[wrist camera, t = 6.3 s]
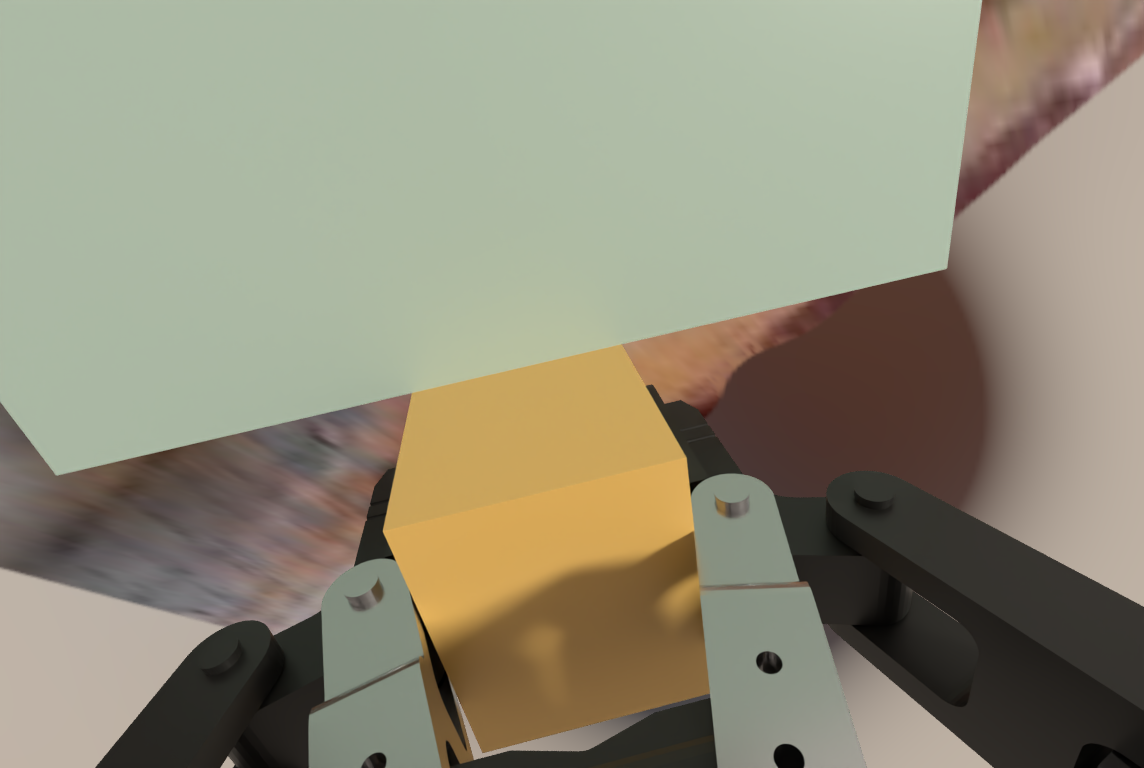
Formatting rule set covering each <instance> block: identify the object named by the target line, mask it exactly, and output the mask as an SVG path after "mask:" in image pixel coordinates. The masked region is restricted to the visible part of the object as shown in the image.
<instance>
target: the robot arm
mask: <svg viewBox="0 0 1144 768" xmlns="http://www.w3.org/2000/svg"><path fill="white" fill-rule="evenodd" d="M646 388H647V390H648V391H649V393H650V395H651V397H652V398H653V400H654V402H655V403H656V405H657V407H658V409H659V410H660V412H661V414H662V416H663V417H664V419H665V421H666V423H667V424H668V426H669V428H670V430H671V431H672V433H673V435H674V437H675V438H676V440H677V442H678V444H679V445H680V447H681V449H682V450H683V452H684V454H685V456H686V457H687V467H688V476H689V485H690V494H691V503H692V513H693V522H694V539H695V548H696V558H697V568H698V578H699V589H700V599H701V609H702V619H703V629H704V639H705V648H706V658H707V668H708V678H709V688H710V697H711V698H708V699H705V700H701V701H697V702H693V703H689V704H686V705H682V706H678V707H674V708H670V709H667V710H663V711H659V712H655V713H653V714H651V715H650V716H648V717H646V718H644V719H643V720H641V721H639V722H637V723H636V724H634V725H632V726H630V727H629V728H627V729H625V730H623V731H622V732H620V733H618V734H617V735H615V736H613V737H611V738H609V739H608V740H606V741H604V742H602V743H601V744H599V745H597V746H595V747H594V748H591V749H589V750H586V751H579V752H577V751H573V752H572V751H507V752H503V753H500V754H496V755H492V756H489V757H484V758H481V759H477V760H474V759H473V755H472V751H471V748H470V744H469V740H468V737H467V733H466V729H465V725H464V722H463V718H462V714H461V711H460V707H459V703H458V699H457V696H456V693H455V690H454V688H453V686H452V684H451V682H450V679H449V677H448V675H447V673H446V671H445V668H444V666H443V664H442V662H441V659H440V657H439V655H438V653H437V651H436V648H435V646H434V644H433V642H432V639H431V637H430V635H429V633H428V631H427V628H426V626H425V624H424V622H423V620H422V617H421V615H420V613H419V611H418V608H417V606H416V604H415V602H414V600H413V597H412V595H411V593H410V591H409V588H408V586H407V584H406V582H405V580H404V577H403V575H402V573H401V571H400V569H399V566H398V564H397V562H396V560H395V557H394V555H393V553H392V551H391V549H390V546H389V544H388V542H387V540H386V537H385V535H384V533H383V528H384V523H385V518H386V514H387V509H388V504H389V499H390V495H391V490H392V485H393V481H394V476H395V471H396V468H392V469H388V470H387V471H386V473H385V474H384V475H383V477H382V478H381V479H380V480H379V482H378V483H377V484H376V485H375V487H374V491H373V495H372V499H371V503H370V504H371V507H369V510H368V514H367V521H366V522H365V526H364V530H363V534H362V538H361V541H360V545H359V549H358V553H357V557H356V561H355V565H354V567H353V568H351V569H349V570H348V571H346V572H345V573H344V574H342V575H341V576H340V577H339V578H338V579H336V580H335V581H334V583H333V584H332V585H331V586H330V587H329V589H328V590H327V592H326V594H325V596H324V598H323V601H322V607H321V611H320V612H319V613H317V614H315V615H314V616H312V617H310V618H308V619H306V620H304V621H302V622H300V623H298V624H296V625H294V626H292V627H290V628H288V629H286V630H284V631H282V632H280V633H278V634H276V635H274V636H273V635H272V633H271V632H270V630H269V628H268V627H267V626H266V625H265V624H264V623H262V622H259V621H253V620H251V621H242V622H238V623H235V624H232V625H229V626H227V627H225V628H223V629H221V630H219V631H217V632H215V633H214V634H212V635H211V636H209V637H208V638H206V639H205V640H204V641H203V642H201V643H200V644H199V645H198V646H197V647H196V648H195V649H194V650H193V651H192V652H191V653H190V654H189V655H188V656H187V657H186V658H185V660H184V661H183V662H182V663H181V665H180V666H179V667H178V668H177V669H176V671H175V672H174V673H173V674H172V675H171V677H170V678H169V679H168V680H167V681H166V683H165V684H164V685H163V686H162V687H161V689H160V690H159V691H158V692H157V694H156V695H155V696H154V697H153V698H152V700H151V701H150V702H149V703H148V704H147V706H146V707H145V708H144V709H143V710H142V712H141V713H140V714H139V715H138V717H137V718H136V719H135V720H134V721H133V723H132V724H131V725H130V726H129V727H128V729H127V730H126V731H125V732H124V734H123V735H122V736H121V737H120V738H119V740H118V741H117V742H116V743H115V744H114V746H113V747H112V748H111V749H110V750H109V752H108V753H107V754H106V755H105V756H104V758H103V759H102V760H101V761H100V763H99V764H98V765H97V766H96V768H220V767H221V766H222V764H223V763H224V761H225V760H226V758H227V756H228V757H230V759H231V760H232V761H233V762H234V764H235V766H234V767H233V768H867V766H866V763H865V760H864V757H863V754H862V750H861V747H860V744H859V741H858V738H857V735H856V731H855V728H854V725H853V722H852V718H851V715H850V712H849V709H848V706H847V702H846V699H845V696H844V693H843V690H842V687H841V683H840V680H839V677H838V673H837V670H836V667H835V664H834V661H833V657H832V654H831V651H830V648H829V645H828V642H827V639H826V636H825V632H824V629H823V625H822V624H828V625H829V626H830V627H831V629H832V630H833V631H834V632H835V633H836V634H838V635H839V636H840V637H841V638H842V639H843V640H845V641H846V642H847V643H848V644H849V645H850V646H852V647H853V648H854V649H855V650H857V651H858V652H859V653H860V654H861V655H862V656H863V657H865V658H866V659H867V660H868V661H869V662H870V663H872V664H873V665H874V666H875V667H876V668H877V669H879V670H880V671H881V672H882V673H883V674H885V675H886V676H887V677H888V678H889V679H890V680H892V681H893V682H894V683H895V684H896V685H898V686H899V687H900V688H901V689H902V690H903V691H905V692H906V693H907V694H908V695H909V696H910V697H911V698H913V699H914V700H915V701H916V702H917V703H919V704H920V705H921V706H922V707H923V708H925V709H926V710H927V711H928V712H929V713H930V714H931V715H933V716H934V717H935V718H936V719H937V720H939V721H940V722H941V723H942V724H943V725H944V726H946V727H947V728H948V729H949V730H950V731H951V732H953V733H954V734H955V735H956V736H957V737H958V738H960V739H961V740H962V741H963V742H964V743H965V744H967V745H968V746H969V747H970V748H971V749H973V750H974V751H975V752H976V753H977V754H978V755H980V756H981V757H982V758H983V759H984V760H986V761H987V762H988V763H989V764H990V765H992V767H994V768H1144V607H1143V606H1141V605H1139V604H1137V603H1135V602H1134V601H1131V600H1130V599H1128V598H1126V597H1124V596H1122V595H1120V594H1118V593H1117V592H1115V591H1113V590H1110V589H1109V588H1107V587H1105V586H1103V585H1101V584H1099V583H1098V582H1096V581H1094V580H1092V579H1090V578H1088V577H1086V576H1084V575H1082V574H1080V573H1079V572H1077V571H1075V570H1073V569H1071V568H1069V567H1067V566H1065V565H1063V564H1061V563H1060V562H1058V561H1056V560H1054V559H1052V558H1050V557H1048V556H1046V555H1044V554H1043V553H1040V552H1039V551H1037V550H1035V549H1033V548H1031V547H1029V546H1027V545H1025V544H1024V543H1022V542H1020V541H1018V540H1016V539H1014V538H1012V537H1010V536H1008V535H1006V534H1004V533H1003V532H1001V531H999V530H997V529H995V528H993V527H991V526H989V525H988V524H986V523H984V522H982V521H980V520H978V519H976V518H974V517H972V516H970V515H968V514H967V513H965V512H962V511H961V510H959V509H957V508H955V507H953V506H951V505H949V504H948V503H946V502H944V501H942V500H940V499H938V498H936V497H934V496H932V495H931V494H928V493H927V492H925V491H923V490H921V489H919V488H917V487H915V486H913V485H912V484H910V483H908V482H906V481H904V480H902V479H900V478H897V477H895V476H892V475H889V474H885V473H881V472H874V471H856V472H850V473H847V474H843V475H841V476H839V477H837V478H836V479H835V480H833V481H832V482H831V483H830V484H829V486H828V488H827V494H826V497H817V498H815V497H812V498H793V497H782V496H777V495H773V492H772V491H771V490H770V488H769V487H768V486H767V485H766V484H765V483H763V482H762V481H760V480H758V479H756V478H754V477H751V476H747V475H743V474H742V472H741V471H740V469H739V468H738V466H737V465H736V464H735V462H734V461H733V459H732V458H731V456H730V455H729V454H728V452H727V451H726V449H725V448H724V446H723V445H722V443H721V442H720V441H719V439H718V438H717V437H715V433H714V432H713V431H712V429H711V428H710V426H708V425H707V422H706V420H705V419H704V418H703V416H702V415H701V413H700V412H699V410H698V409H696V408H694V407H692V406H690V405H689V404H687V403H685V402H683V401H681V400H680V401H675V402H671V403H667V404H664V402H663V401H662V399H661V397H660V396H659V394H658V392H657V391H656V389H655V387H654V386H653V385H647V386H646ZM914 591H915V592H916V593H918V594H919V595H920V596H919V595H918V594H916V593H915V592H914ZM921 596H922V597H923V598H922V597H921ZM924 598H925V599H926V600H925V599H924ZM927 600H928V601H929V602H928V601H927ZM930 602H931V603H932V604H934V605H935V606H936V607H935V606H934V605H932V604H931V603H930ZM937 607H938V608H939V609H938V608H937ZM940 609H941V610H942V611H941V610H940ZM943 611H944V612H945V613H944V612H943ZM946 613H947V614H948V615H950V616H951V617H953V618H954V619H955V620H954V619H953V618H951V617H950V616H948V615H947V614H946ZM956 620H957V621H958V622H957V621H956Z"/></svg>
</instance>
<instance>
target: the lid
mask: <svg viewBox="0 0 1144 768" xmlns="http://www.w3.org/2000/svg"><path fill="white" fill-rule="evenodd" d="M981 4H982V0H0V402H1V404H2V405H3V406H4V408H5V409H6V410H7V411H8V413H9V414H10V415H11V417H12V418H13V419H14V421H15V422H16V423H17V425H18V426H19V427H20V429H21V430H22V431H23V432H24V434H25V435H26V436H27V438H28V439H29V440H30V442H31V443H32V444H33V446H34V447H35V448H36V449H37V451H38V452H39V453H40V455H41V456H42V457H43V459H44V460H45V461H46V463H47V464H48V465H49V467H50V468H51V469H52V470H53V472H54V473H55V474H56V476H57V475H61V474H66V473H70V472H74V471H78V470H83V469H87V468H91V467H96V466H100V465H104V464H109V463H113V462H117V461H121V460H126V459H130V458H134V457H139V456H143V455H147V454H152V453H156V452H160V451H165V450H169V449H173V448H177V447H182V446H186V445H190V444H195V443H199V442H203V441H208V440H212V439H216V438H220V437H225V436H229V435H233V434H238V433H242V432H246V431H251V430H255V429H259V428H263V427H268V426H272V425H276V424H281V423H285V422H289V421H294V420H298V419H302V418H306V417H311V416H315V415H319V414H324V413H328V412H332V411H337V410H341V409H345V408H349V407H354V406H358V405H362V404H367V403H371V402H375V401H380V400H384V399H388V398H392V397H397V396H401V395H405V394H410V393H412V396H411V401H410V406H409V410H408V415H407V420H406V424H405V429H404V434H403V439H402V443H401V448H400V453H399V457H398V462H397V467H396V471H395V476H394V481H393V485H392V490H391V495H390V499H389V504H388V509H387V514H386V518H385V523H384V528H383V533H384V535H385V537H386V540H387V542H388V544H389V546H390V549H391V551H392V553H393V555H394V557H395V560H396V562H397V564H398V566H399V569H400V571H401V573H402V575H403V577H404V580H405V582H406V584H407V586H408V588H409V591H410V593H411V595H412V597H413V600H414V602H415V604H416V606H417V608H418V611H419V613H420V615H421V617H422V620H423V622H424V624H425V626H426V628H427V631H428V633H429V635H430V637H431V639H432V642H433V644H434V646H435V648H436V651H437V653H438V655H439V657H440V659H441V662H442V664H443V666H444V668H445V671H446V673H447V675H448V677H449V679H450V682H451V684H452V686H453V688H454V690H455V693H456V695H457V697H458V699H459V702H460V704H461V706H462V708H463V710H464V713H465V715H466V717H467V719H468V721H469V724H470V726H471V728H472V730H473V732H474V735H475V737H476V739H477V741H478V744H479V746H480V748H481V750H482V753H485V752H489V751H493V750H496V749H500V748H504V747H508V746H512V745H515V744H519V743H523V742H527V741H531V740H534V739H538V738H542V737H546V736H550V735H553V734H557V733H561V732H565V731H569V730H572V729H576V728H580V727H584V726H588V725H591V724H595V723H599V722H603V721H606V720H610V719H614V718H618V717H622V716H626V715H629V714H633V713H637V712H641V711H645V710H649V709H652V708H656V707H660V706H664V705H668V704H671V703H675V702H679V701H683V700H686V699H690V698H694V697H698V696H702V695H706V694H709V693H710V688H709V678H708V668H707V658H706V648H705V639H704V629H703V619H702V609H701V599H700V589H699V578H698V568H697V558H696V548H695V539H694V522H693V513H692V503H691V494H690V485H689V476H688V467H687V457H686V456H685V454H684V452H683V450H682V449H681V447H680V445H679V444H678V442H677V440H676V438H675V437H674V435H673V433H672V431H671V430H670V428H669V426H668V424H667V423H666V421H665V419H664V417H663V416H662V414H661V412H660V410H659V409H658V407H657V405H656V403H655V402H654V400H653V398H652V397H651V395H650V393H649V391H648V390H647V388H646V386H645V384H644V383H643V381H642V379H641V377H640V376H639V374H638V372H637V370H636V369H635V367H634V365H633V363H632V362H631V360H630V358H629V356H628V355H627V353H626V351H625V350H624V348H623V346H622V344H625V343H629V342H633V341H638V340H642V339H646V338H651V337H655V336H659V335H663V334H668V333H672V332H676V331H681V330H685V329H689V328H694V327H698V326H702V325H706V324H711V323H715V322H719V321H724V320H728V319H732V318H737V317H741V316H745V315H749V314H754V313H758V312H762V311H767V310H771V309H775V308H780V307H784V306H788V305H792V304H797V303H801V302H805V301H810V300H814V299H818V298H823V297H827V296H831V295H835V294H840V293H844V292H848V291H853V290H857V289H861V288H866V287H870V286H874V285H878V284H883V283H887V282H891V281H896V280H900V279H904V278H908V277H913V276H917V275H921V274H925V273H930V272H934V271H939V270H943V269H947V263H948V256H949V249H950V241H951V233H952V226H953V218H954V210H955V203H956V195H957V188H958V180H959V172H960V165H961V157H962V149H963V142H964V134H965V126H966V119H967V111H968V103H969V96H970V88H971V80H972V73H973V65H974V58H975V50H976V42H977V35H978V27H979V19H980V12H981Z"/></svg>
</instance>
